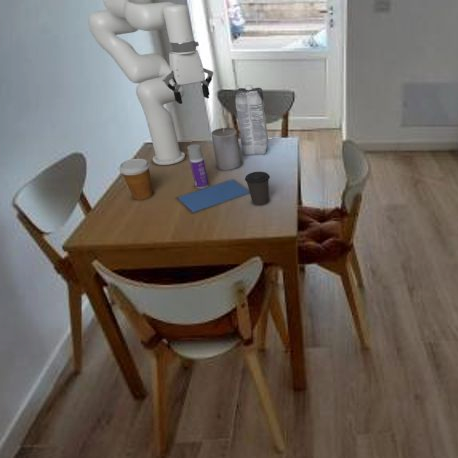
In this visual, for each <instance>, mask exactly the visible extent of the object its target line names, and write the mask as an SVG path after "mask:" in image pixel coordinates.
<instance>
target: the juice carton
mask: <svg viewBox="0 0 458 458" xmlns="http://www.w3.org/2000/svg"><path fill="white" fill-rule="evenodd" d="M234 101H235V110H236V117H237V123H238V130H239V137H240V144H241V147H242V151H243V153H244V155H245V156H251V155H266V152H267V149H268V145H269V135H268V126H267V116H266V107H265V99H264V93H263V89H262V87H254V88H253V85H252V84H246V85H245V86H244V87H239V88H238V89H237V91H236V92H235V93H234Z"/></svg>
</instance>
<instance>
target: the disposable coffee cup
mask: <svg viewBox="0 0 458 458" xmlns="http://www.w3.org/2000/svg"><path fill="white" fill-rule="evenodd" d="M150 166H151V165H150V162H149V161H148V160H147V159H145V158H131V159H128V160H125V161H123V162H121V163H120V164H119V168H118V169H119V170H118V171H119V173H121V174H122V177H123V178H124V181H125V183H126V185H127V187H128V189H129V192H130V193H131V196H132V198H133V199H135V200H140V201H141V200H145V199H148V198H151V197H152V196H153V187H152V181H151V173H150Z"/></svg>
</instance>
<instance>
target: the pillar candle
mask: <svg viewBox="0 0 458 458" xmlns="http://www.w3.org/2000/svg"><path fill="white" fill-rule="evenodd" d="M211 141H212V145H213V149H214V150H213V152H214V156H215V162H216V168H217V169H219V170H223V171H230V170H234V169H237V168H240V167H241V166H242V165H243V164H242V163H243V162H242V155H241V149H240V142H239V135H238V130H237V129H236V128H233V127H220V128H217V129H215V130H212V131H211Z"/></svg>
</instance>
